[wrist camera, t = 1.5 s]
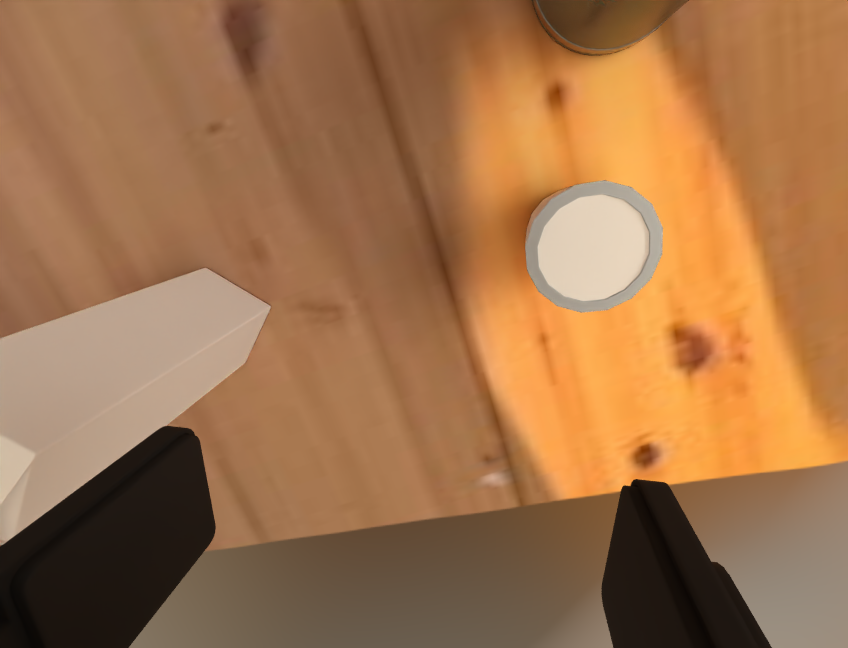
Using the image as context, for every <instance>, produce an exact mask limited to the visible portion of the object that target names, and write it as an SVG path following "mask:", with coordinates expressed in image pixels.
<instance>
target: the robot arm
mask: <svg viewBox="0 0 848 648" xmlns="http://www.w3.org/2000/svg"><path fill="white" fill-rule="evenodd" d="M215 529H216V527H215V520H214V515H213V509H212V504H211V499H210V493H209V488H208V483H207V477H206V472H205V467H204V461H203V456H202V450H201V445H200V441H199V438H198V437H197V436H195V434H194V432H193V431H192V430H191V429H189V428H181V427H173V426H163V427H161V428H160V429H158V430H157V431H155V432H154V433H153V434H151V435H150V436H149V437H147V438H146V439H145V440H143V441H142V442H141V443H139V444H138V445H136V446H135V447H134V448H132V449H131V450H130V451H128V452H127V453H126V454H124V455H123V456H122V457H120V458H119V459H118V460H116V461H115V462H114V463H112V464H111V465H110V466H108V467H107V468H105V469H104V470H103V471H101V472H100V473H99V474H97V475H96V476H95V477H93V478H92V479H91V480H89V481H88V482H87V483H85V484H84V485H83V486H81V487H80V488H79V489H77V490H76V491H74V492H73V493H72V494H70V495H69V496H68V497H66V498H65V499H64V500H62V501H61V502H60V503H58V504H57V505H56V506H54V507H53V508H52V509H50V510H49V511H48V512H46V513H45V514H43V515H42V516H41V517H39V518H38V519H37V520H35V521H34V522H33V523H31V524H30V525H29V526H27V527H26V528H25V529H23V530H22V531H21V532H19V533H18V534H17V535H15V536H14V537H12V538H11V539H10V540H8V541H7V542H6V543H4V544H3V545H2V546H0V648H129V646H130V645H131V644H132V642H133V641H134V640H135V639H136V637H137V636H138V635H139V633H140V632H141V631H142V630H143V628H144V627H145V626H146V625H147V623H148V622H149V621H150V620H151V618H152V617H153V615H154V614H155V613H156V612H157V610H158V609H159V608H160V607H161V605H162V604H163V603H164V602H165V600H166V599H167V598H168V596H169V595H170V594H171V593H172V591H173V590H174V589H175V588H176V586H177V585H178V584H179V583H180V581H181V580H182V578H183V577H184V576H185V575H186V574H187V572H188V571H189V570H190V569H191V567H192V566H193V565H194V563H195V562H196V561H197V560H198V558H199V557H200V556H201V555H202V553H203V552H204V551H205V549H206V548H207V547H208V546H209V544H210V543H211V541H212V539H213V537H214V534H215ZM602 602H603V607H604V611H605V615H606V619H607V623H608V627H609V631H610V635H611V639H612V643H613V648H772V647H771V646H770V644H769V642H768V640H767V639H766V637H765V635H764V634H763V632H762V630H761V629H760V627H759V625H758V623H757V622H756V620H755V618H754V616H753V615H752V613H751V611H750V610H749V608H748V606H747V604H746V603H745V601H744V599H743V598H742V596H741V594H740V592H739V591H738V589H737V587H736V586H735V584H734V582H733V580H732V579H731V577H730V575H729V574H728V573H727V571H726V570H725V568H724V567H723V566H721V565H720V564H718V563H717V562H711V561H710V559H709V557H708V555H707V553H706V552H705V550H704V548H703V546H702V545H701V543H700V541H699V539H698V537H697V535H696V534H695V532H694V530H693V528H692V526H691V525H690V523H689V521H688V519H687V518H686V516H685V514H684V512H683V510H682V509H681V507H680V505H679V503H678V501H677V499H676V498H675V496H674V494H673V492H672V490H671V489H670V487H669V486H668V484H666V483H664V482H656V481H647V480H638V479H635V480H633V482H632V483H631V486H623V487H622V490H621V494H620V499H619V504H618V508H617V513H616V518H615V523H614V528H613V533H612V538H611V542H610V547H609V552H608V558H607V562H606V567H605V572H604V577H603V582H602Z"/></svg>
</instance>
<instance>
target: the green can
mask: <svg viewBox="0 0 848 648" xmlns="http://www.w3.org/2000/svg"><path fill="white" fill-rule="evenodd" d="M532 1H533V5H534V9H535V12H536V14H537V17H538V19H539V21H540V22H541V24H542V26H543V28H544V29H545V30H546V32H547V33H548V34H549V35H550V36H551V37H552V38H553V39H554V40H555V41H556V42H557V43H559V44H560V45H561V46H563V47H564V48H566V49H569V50H571V51H573V52H576V53H579V54H584V55H607V54H612V53H615V52H619V51H622V50H624V49H626V48H629V47H631V46H632V45H634V44H636V43H638V42H640V41H641V40H643V39H644V38H646V37H647V36H648V35H650V34H651V33H652V32H654V31H655V30H656V29H657V28H658V27H659V26H661V25H662V24H663V23H664V22H665V21H666V20H667V19H668V18H669V17H670V16H671V15H672V14H674V13H675V12H676V11H677V10H678V9H679V8H681V7H682V6H683V5H684V4H685V3H686V2H688V1H689V0H532Z"/></svg>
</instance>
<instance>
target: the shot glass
mask: <svg viewBox="0 0 848 648" xmlns="http://www.w3.org/2000/svg"><path fill="white" fill-rule="evenodd" d="M662 237H663V227H662V225H661V223H660V221H659V219H658V216H657V214H656V212H655V210H654V207H653V205H652V204H651V203H650V202H649V201H648V200H646V199H645V198H644V197H643V196H642V195H640V194H639V193H638V192H637V191H635V190H634V189H633V188H632V187H629V186H625V185H621V184H617V183H613V182H609V181H605V180H604V181H598V182H591V183H585V184H578V185H574V186H571V187H568V188H565V189H562V190H559V191H557V192H555V193H554V194H552V195H550V196H549V197H547V198H545V199H543V200H542V201H541V203H540V204H539V205H538V206H537V208H536V209H535V210H534V211H533V213H532V214H531V217H530V220H529V223H528V227H527V230H526V242H525V250H526V263H527V271H528V273H529V275H530V277H531V279H532V280H533V282H534V284H535V286H536V288H537V290H538V291H539V292H540V293H541V294H542V295H544V296H545V297H546V298H548V299H549V300H550V301H552V302H553V303H554V304H555V305H557V306H559V307H563V308H567V309H570V310H574V311H578V312H591V311H601V310H608V309H610V308H612V307H614V306H617V305H619V304H621V303H623V302H625V301H627V300H629V299H631V298H632V297H633V296H634V295H635V294H636V293H637V292H638V291H639V290H640V289H641V288H642V287H643V286H644V285H645V284H646V283H647V282H648V281H649V280H650V279H651V278H652V276H653V273H654V271H655V269H656V267H657V265H658V262H659V260H660V258H661V256H662Z"/></svg>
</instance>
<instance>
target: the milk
mask: <svg viewBox="0 0 848 648" xmlns="http://www.w3.org/2000/svg"><path fill="white" fill-rule="evenodd" d="M270 308H271V306H270V305H268V304H267V303H265V302H263V301H261V300H260V299H258V298H256V297H255V296H253V295H251V294H250V293H248V292H246V291H245V290H243V289H241V288H239V287H238V286H236V285H234V284H233V283H231V282H229V281H228V280H226V279H224V278H223V277H221V276H219V275H217V274H216V273H214V272H212V271H211V270H209V269H207V268H202V269H200V270H197V271H194V272H191V273H188V274H185V275H182V276H179V277H176V278H173V279H171V280H168V281H165V282H162V283H159V284H156V285H153V286H150V287H147V288H145V289H142V290H139V291H136V292H133V293H130V294H127V295H124V296H121V297H118V298H116V299H113V300H110V301H107V302H104V303H101V304H98V305H95V306H92V307H90V308H87V309H84V310H81V311H78V312H75V313H72V314H69V315H66V316H63V317H61V318H58V319H55V320H52V321H49V322H46V323H43V324H40V325H37V326H35V327H32V328H29V329H26V330H23V331H20V332H17V333H14V334H11V335H8V336H6V337H3V338H0V545H3V544H4V543H6V542H7V541H8V540H10V539H11V538H12V537H14V536H15V535H17V534H18V533H19V532H21V531H22V530H23V529H25V528H26V527H27V526H29V525H30V524H31V523H33V522H34V521H35V520H37V519H38V518H39V517H41V516H42V515H43V514H45V513H46V512H48V511H49V510H50V509H52V508H53V507H54V506H56V505H57V504H58V503H60V502H61V501H62V500H64V499H65V498H66V497H68V496H69V495H70V494H72V493H73V492H74V491H76V490H77V489H79V488H80V487H81V486H83V485H84V484H85V483H87V482H88V481H89V480H91V479H92V478H93V477H95V476H96V475H97V474H99V473H100V472H101V471H103V470H104V469H105V468H107V467H108V466H110V465H111V464H112V463H114V462H115V461H116V460H118V459H119V458H120V457H122V456H123V455H124V454H126V453H127V452H128V451H130V450H131V449H132V448H134V447H135V446H136V445H138V444H139V443H141V442H142V441H143V440H145V439H146V438H147V437H149V436H150V435H151V434H153V433H154V432H155V431H157V430H158V429H160V428H161V427H163V426H166V425H168V424H169V423H170V422H171V421H173V420H174V419H175V418H176V417H178V416H179V415H180V414H181V413H183V412H184V411H185V410H187V409H188V408H189V407H190V406H192V405H193V404H194V403H195V402H197V401H198V400H199V399H200V398H202V397H203V396H204V395H205V394H207V393H208V392H209V391H210V390H212V389H213V388H214V387H215V386H217V385H218V384H219V383H221V382H222V381H223V380H224V379H226V378H227V377H228V376H229V375H231V374H232V373H233V372H234V371H236V370H237V369H238V368H239V367H241V366H242V365H243V364H244V363H245V362H246V361H247V359H248V356H249V354H250V352H251V350H252V348H253V345H254V343H255V341H256V339H257V337H258V335H259V332H260V330H261V328H262V326H263V324H264V322H265V319H266V317H267V315H268V313H269V311H270Z"/></svg>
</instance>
